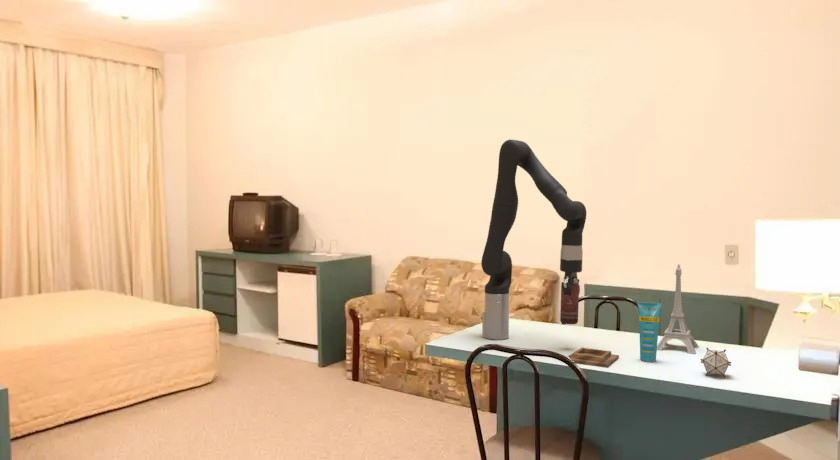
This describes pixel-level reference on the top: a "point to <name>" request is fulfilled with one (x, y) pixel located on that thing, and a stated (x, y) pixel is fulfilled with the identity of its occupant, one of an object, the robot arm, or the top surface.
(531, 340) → the top surface
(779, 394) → the top surface
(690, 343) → the eiffel tower
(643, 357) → the tube
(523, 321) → the top surface
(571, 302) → the can
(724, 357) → the game die
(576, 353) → the coaster plate
